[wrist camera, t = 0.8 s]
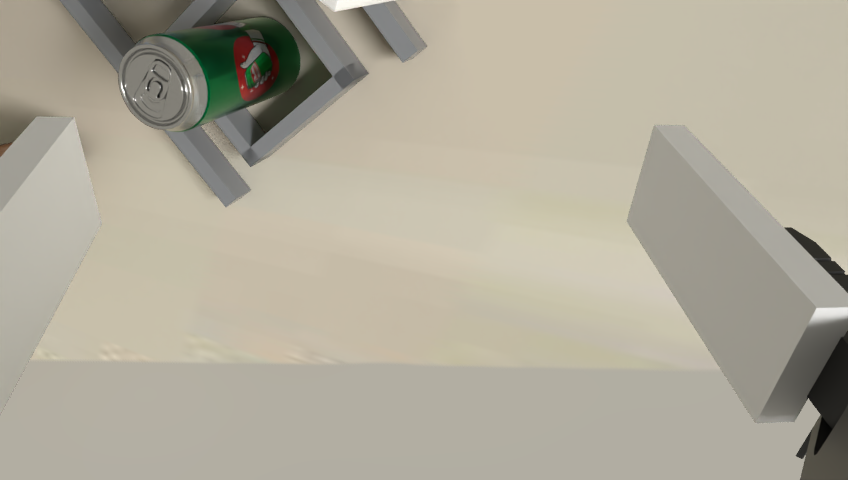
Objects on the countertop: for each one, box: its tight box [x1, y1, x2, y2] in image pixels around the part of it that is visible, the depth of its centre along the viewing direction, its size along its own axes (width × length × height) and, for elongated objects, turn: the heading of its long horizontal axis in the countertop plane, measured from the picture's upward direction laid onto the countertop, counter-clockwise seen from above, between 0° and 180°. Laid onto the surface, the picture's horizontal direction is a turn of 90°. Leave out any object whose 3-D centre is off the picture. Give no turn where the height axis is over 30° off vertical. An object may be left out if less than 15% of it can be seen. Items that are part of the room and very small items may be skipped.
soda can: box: [118, 17, 300, 132], centre depth 39 cm, size 5×5×12 cm
